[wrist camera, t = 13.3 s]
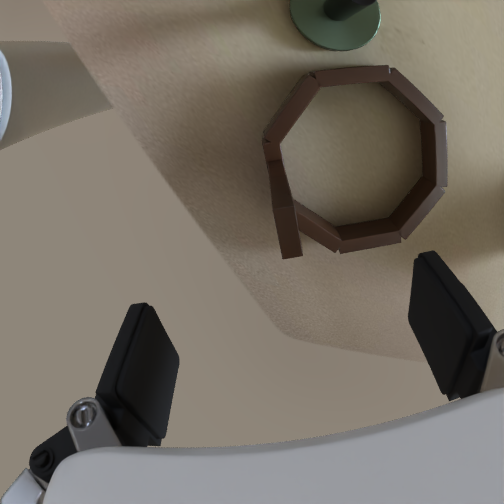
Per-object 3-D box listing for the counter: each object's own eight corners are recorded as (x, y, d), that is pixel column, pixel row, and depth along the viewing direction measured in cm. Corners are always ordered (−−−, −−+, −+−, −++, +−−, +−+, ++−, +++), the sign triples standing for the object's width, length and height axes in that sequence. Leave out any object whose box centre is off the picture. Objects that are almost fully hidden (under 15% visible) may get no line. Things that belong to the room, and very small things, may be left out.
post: (300, 55, 24) (315, 47, 17) (280, -23, 20) (287, -55, 13) (385, 49, 23) (425, 43, 16) (366, -27, 19) (399, -54, 12)
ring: (284, 248, 33) (296, 340, 22) (249, 82, 25) (242, 83, 14) (432, 221, 31) (495, 292, 20) (425, 64, 23) (515, 71, 12)
